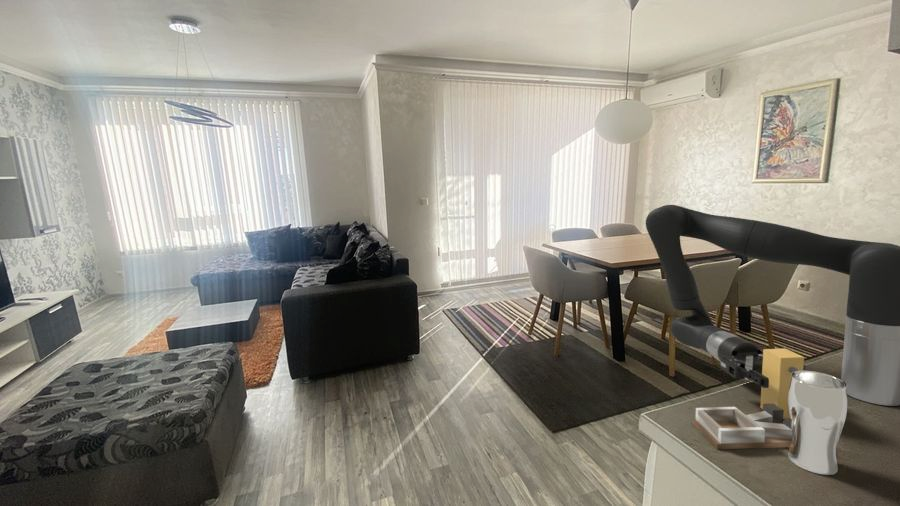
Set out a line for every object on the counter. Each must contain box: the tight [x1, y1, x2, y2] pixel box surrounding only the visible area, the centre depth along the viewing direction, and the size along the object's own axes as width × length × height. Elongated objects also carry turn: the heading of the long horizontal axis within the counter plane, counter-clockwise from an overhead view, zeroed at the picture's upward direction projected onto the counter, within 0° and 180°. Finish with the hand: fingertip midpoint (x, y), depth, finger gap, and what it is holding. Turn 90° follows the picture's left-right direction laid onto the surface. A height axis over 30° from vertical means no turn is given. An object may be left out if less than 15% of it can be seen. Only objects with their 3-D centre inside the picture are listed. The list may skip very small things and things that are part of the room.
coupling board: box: [691, 403, 792, 450], centre depth 71 cm, size 16×8×4 cm, turn 88°
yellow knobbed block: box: [759, 348, 805, 420], centre depth 77 cm, size 4×6×13 cm
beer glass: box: [787, 369, 848, 476], centre depth 62 cm, size 7×7×15 cm
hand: (789, 382), depth 75 cm, fingers open, 8 cm apart
